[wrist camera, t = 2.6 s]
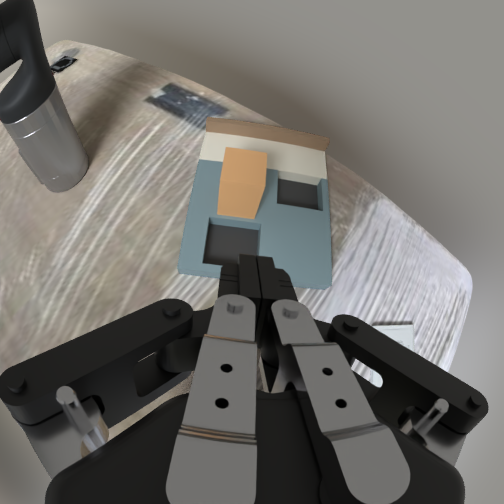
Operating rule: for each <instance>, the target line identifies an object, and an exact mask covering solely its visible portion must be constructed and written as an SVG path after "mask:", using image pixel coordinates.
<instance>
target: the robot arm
mask: <svg viewBox="0 0 504 504" xmlns="http://www.w3.org/2000/svg"><path fill="white" fill-rule="evenodd" d="M20 59H22V60H23V62H22V64H21V66H20V67H19V69H18V71H17V72H16V74H15V75H14V76H13V78H12V79H11V80H10V81H9V82H8V84H7V85H6V86H5V87H4V89H3V90H2V91H1V93H0V120H1V122H2V123H3V125H4V126H5V128H6V130H7V131H8V133H9V134H10V136H11V137H12V139H13V140H14V142H15V143H16V145H17V146H18V148H19V154H20V156H21V157H22V158H23V160H24V161H25V163H26V164H27V165H28V167H29V168H30V169H31V171H32V172H33V174H34V175H35V176H36V177H37V179H38V180H39V181H40V183H41V184H45V186H46V187H47V188H48V189H49V190H50V191H52V192H63V191H66V190H68V189H70V188H72V187H73V186H74V185H76V184H77V183H78V182H79V181H80V180H81V179H82V177H83V176H84V175H85V173H86V171H87V168H88V164H89V160H88V156H87V154H86V152H85V150H84V148H83V145H82V143H81V141H80V139H79V137H78V134H77V132H76V130H75V128H74V125H73V123H72V121H71V118H70V116H69V114H68V111H67V109H66V107H65V104H64V102H63V99H62V97H61V94H60V92H59V89H58V86H57V84H56V81H55V79H54V76H53V73H52V71H51V68H50V66H49V63H48V60H47V57H46V54H45V50H44V46H43V42H42V38H41V33H40V28H39V22H38V17H37V13H36V9H35V5H34V2H33V0H6V1H4V2H3V3H1V4H0V73H1V72H2V71H3V70H5V69H6V68H8V67H9V66H11V65H12V64H14V63H15V62H16V61H18V60H20ZM257 348H260V349H261V354H260V358H259V368H260V373H261V379H262V384H263V389H264V391H259V390H256V376H257ZM154 352H155V353H154ZM152 353H153V354H152ZM150 354H152V355H150ZM149 355H150V356H149ZM147 356H148V357H147ZM145 357H146V358H145ZM143 358H145V359H143ZM141 359H143V360H141ZM355 359H357V360H359V361H360V362H362V363H363V364H365V365H366V366H368V367H369V368H371V369H372V370H374V371H375V372H377V373H378V374H379V375H380V376H381V377H382V380H383V383H382V386H381V387H377V386H375V385H373V384H372V383H370V382H369V381H367V380H366V379H364V378H363V377H361V376H360V375H359V374H357V373H356V372H354V371H353V370H351V367H352V365H353V363H354V361H355ZM140 360H141V361H140ZM138 361H139V362H138ZM191 371H195V372H194V376H193V380H192V384H191V389H190V393H186V394H182V395H179V396H176V397H174V398H171V399H170V400H168V401H166V402H164V403H163V404H161V405H160V406H158V407H157V408H156V409H154V410H153V411H152V412H150V413H149V414H147V415H146V416H145V417H143V418H142V419H140V420H139V421H138V422H136V423H135V424H133V425H132V426H130V427H129V428H127V429H126V430H125V431H123V432H122V433H120V434H119V435H117V436H116V437H114V438H113V439H111V440H110V441H108V442H107V440H108V437H109V430H108V429H109V428H111V427H112V426H114V425H116V424H117V423H119V422H121V421H122V420H124V419H126V418H127V417H129V416H130V415H132V414H133V413H135V412H137V411H138V410H140V409H141V408H143V407H144V406H146V405H148V404H149V403H151V402H152V401H154V400H155V399H157V398H158V397H160V396H161V395H163V394H164V393H166V392H167V391H169V390H170V389H172V388H173V387H175V386H176V385H177V384H179V383H180V382H182V381H183V380H185V379H186V378H187V377H188V376H189V375H190V374H191ZM0 398H1V400H2V401H3V403H4V404H5V405H6V407H7V408H8V409H9V411H10V412H11V415H12V416H13V418H14V419H15V420H16V422H17V423H18V424H19V425H20V427H21V428H22V429H23V430H24V432H25V433H26V435H27V437H28V439H29V441H30V443H31V445H32V447H33V449H34V450H35V452H36V454H37V456H38V458H39V459H40V461H41V463H42V464H43V466H44V467H45V469H46V471H47V472H48V474H49V476H50V477H51V479H52V481H51V482H50V484H49V486H48V488H47V491H46V495H45V504H464V500H465V486H464V482H463V479H462V477H461V475H460V473H459V472H458V471H457V469H456V468H455V467H454V466H455V463H456V461H457V459H458V456H459V453H460V451H461V449H462V446H463V443H464V440H465V438H466V435H467V434H468V433H469V432H470V431H471V430H472V429H473V428H474V427H475V426H476V425H477V424H478V423H479V422H480V421H481V420H482V419H483V418H484V417H485V416H486V414H487V413H488V403H487V401H486V399H485V397H484V396H483V395H482V394H481V393H480V392H479V391H477V390H476V389H474V388H473V387H471V386H469V385H468V384H466V383H464V382H462V381H461V380H459V379H458V378H456V377H454V376H453V375H451V374H449V373H448V372H446V371H444V370H443V369H441V368H439V367H438V366H436V365H434V364H433V363H431V362H430V361H428V360H426V359H425V358H423V357H421V356H420V355H418V354H416V353H415V352H413V351H411V350H410V349H408V348H406V347H405V346H403V345H401V344H400V343H398V342H396V341H395V340H393V339H392V338H390V337H388V336H387V335H385V334H383V333H382V332H380V331H378V330H377V329H375V328H373V327H372V326H370V325H368V324H367V323H365V322H364V321H362V320H360V319H358V318H357V317H354V316H351V315H345V314H342V315H337V316H335V317H334V318H333V320H332V322H331V324H330V323H326V322H322V321H318V320H315V319H313V318H312V315H311V313H310V311H309V310H308V308H307V307H306V306H305V305H303V304H301V303H299V302H298V300H297V297H296V294H295V291H294V288H293V285H292V282H291V279H290V276H289V274H288V273H287V272H286V271H285V270H283V269H279V268H275V264H274V261H273V257H267V256H258V255H256V256H255V255H249V254H240V253H239V256H238V263H237V264H234V263H225V264H224V265H223V266H222V267H221V272H220V280H219V290H218V299H217V300H216V301H215V305H214V306H212V307H211V308H208V309H205V310H200V311H193V309H192V307H191V306H190V305H189V304H188V303H186V302H185V301H182V300H179V299H163V300H160V301H157V302H155V303H153V304H151V305H148V306H146V307H144V308H142V309H140V310H137V311H135V312H133V313H131V314H129V315H126V316H124V317H122V318H120V319H117V320H115V321H113V322H111V323H109V324H106V325H104V326H102V327H100V328H97V329H95V330H93V331H91V332H89V333H86V334H84V335H82V336H80V337H77V338H75V339H73V340H71V341H68V342H66V343H64V344H62V345H59V346H57V347H55V348H53V349H51V350H48V351H46V352H44V353H42V354H39V355H37V356H35V357H32V358H30V359H28V360H26V361H23V362H21V363H19V364H17V365H14V366H12V367H10V368H8V369H7V370H5V371H4V372H3V373H2V374H1V376H0ZM106 442H107V443H106Z"/></svg>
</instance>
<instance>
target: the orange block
mask: <svg viewBox="0 0 504 504" xmlns="http://www.w3.org/2000/svg"><path fill="white" fill-rule="evenodd" d="M266 168H267V153H265V152H258V151H252V150H245V149H238V148H231V147H226V149H225V154H224V160H223V165H222V171H221V177H220V185H219V197H218V209H217V214H218V215H225V216H233V217H241V218H248V219H254V218H255V215H256V212H257V210H258V207H259V204H260V201H261V198H262V195H263V192H264V189H265V184H266Z"/></svg>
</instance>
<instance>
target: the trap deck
mask: <svg viewBox="0 0 504 504" xmlns="http://www.w3.org/2000/svg"><path fill="white" fill-rule="evenodd" d="M329 143H330V140H329V138H327V137H323V136H319V135H315V134H310V133H306V132H301V131H296V130H291V129H286V128H281V127H276V126H270V125H264V124H258V123H252V122H245V121H238V120H230V119H222V118H213V117H207V120H206V134H205V137H204V141H203V145H202V149H201V153H200V158H199V162H198V166H197V170H196V175H195V179H194V183H193V188H192V193H191V197H190V202H189V207H188V212H187V217H186V222H185V227H184V232H183V238H182V243H181V249H180V255H179V260H178V267H177V269H178V271H179V273H180V274H187V275H195V276H203V277H211V278H219V279H220V272H221V267H222V266H223V265H224V264H225V263H234V264H237V263H238V256H239V253H240V254H249V255H255V256H256V255H258V256H267V257H273V261H274V264H275V268H279V269H283V270H285V271H286V272H287V273H288V274H289V276H290V279H291V282H292V285H293V287H301V288H312V289H322V290H325V289H327V288H328V287H330V286H332V263H331V231H330V211H329V196H328V182H327V170H326V160H325V150H326V148H327V146H328V145H329ZM226 147H231V148H238V149H245V150H252V151H258V152H265V153H267V168H266V184H265V189H264V192H263V195H262V198H261V201H260V204H259V207H258V210H257V212H256V215H255V218H254V219H248V218H241V217H233V216H225V215H218V214H217V209H218V197H219V185H220V177H221V171H222V165H223V160H224V154H225V149H226Z"/></svg>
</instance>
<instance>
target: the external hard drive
mask: <svg viewBox="0 0 504 504" xmlns="http://www.w3.org/2000/svg"><path fill="white" fill-rule="evenodd" d="M372 327H373V328H375V329H377V330H378V331H380V332H382V333H383V334H385V335H387V336H388V337H390V338H392V339H393V340H395V341H396V342H398V343H400V344H401V345H403V346H405V347H406V348H408V349H410V350H411V351H413V352H414V325H413V324H412V325H384V326H372ZM370 383H372V384H373V385H375V386H377V387H381V386H382V383H383V380H382V377H381V376H380V375H379V374H378V373H377V372H375V371H374V370H372V369H371V374H370Z"/></svg>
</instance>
